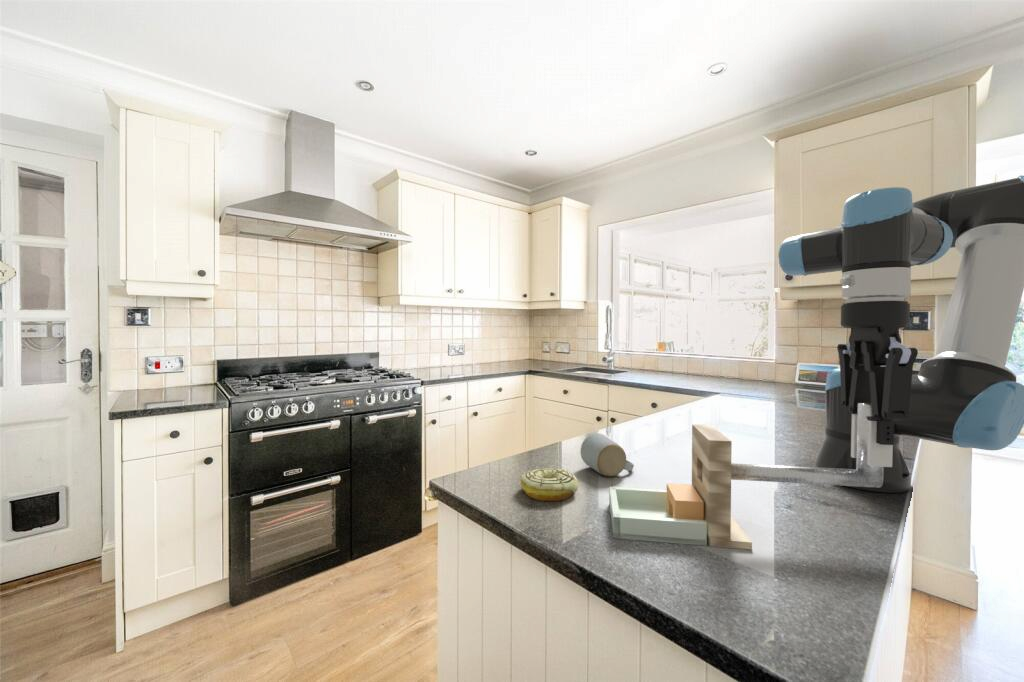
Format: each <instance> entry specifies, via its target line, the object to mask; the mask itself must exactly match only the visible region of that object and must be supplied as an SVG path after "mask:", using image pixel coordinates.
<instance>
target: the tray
mask: <svg viewBox="0 0 1024 682" xmlns="http://www.w3.org/2000/svg"><path fill="white" fill-rule="evenodd" d="M608 493H609V512H610V521H611V530H612V538H613V539H620V540H631V541H643V542H644V541H645V542H658V543H670V544H679V545H680V544H681V545H690V546H691V545H692V546H693V545H694V546H703V545H704V546H705V547H706V546H707V543H708V541H707V523H706V522H705V521H703V520H690V519H676V518H673V515H669V514H668V512H667V489H657V488H656V489H654V488H640V487H639V488H636V487H622V486H621V487H620V486H609V492H608Z"/></svg>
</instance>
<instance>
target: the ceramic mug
mask: <svg viewBox="0 0 1024 682" xmlns="http://www.w3.org/2000/svg"><path fill="white" fill-rule="evenodd" d="M580 457H581V459H582V461H583V463H585V465H587V466H588V467H590V468H591V469H593V470H594V471H595V472H597V473H599V474H600V475H602V476H604V477H611V478H612V477H615V476H617V475H619V474H621V473H622V471H623V470H624V471H628V472H632V471H633V469H634V467H635V464H634V463H632V462H631V461H629V460H627V455H626V451H625V450H624V448H622V446H620V445H619V444H618V442H615V441H614V440H612V439H610V438H609V437H608V436H606V435H605V434H603V433H598V432H596V433H591V434H590V435H588V436H586V437H585V439H584V440H583V442H582V443H581V445H580Z"/></svg>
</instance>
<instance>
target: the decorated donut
mask: <svg viewBox="0 0 1024 682" xmlns="http://www.w3.org/2000/svg"><path fill="white" fill-rule="evenodd" d="M577 478H578V477H576V476H575V475H574V474H573V473H571V472H569V471H568V470H566V469H564V468H552V467H546V468H545V467H544V468H536V469H535V468H534V469H531V470H529V471H526V472H525V473H523V474H522V476H521V477H520V479H521V480H520V487H521V488H522V490H523V491H524V493H525V494H526V495H527V496H528V497H530V498H532V499H534V500H538V501H540V502H544V501H545V502H548V501H550V502H558V501H563V500H565V499H568V498H569V497H570V496H572V495H573V494H575V493H577V491H578V489H579V481H578V479H577Z"/></svg>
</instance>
